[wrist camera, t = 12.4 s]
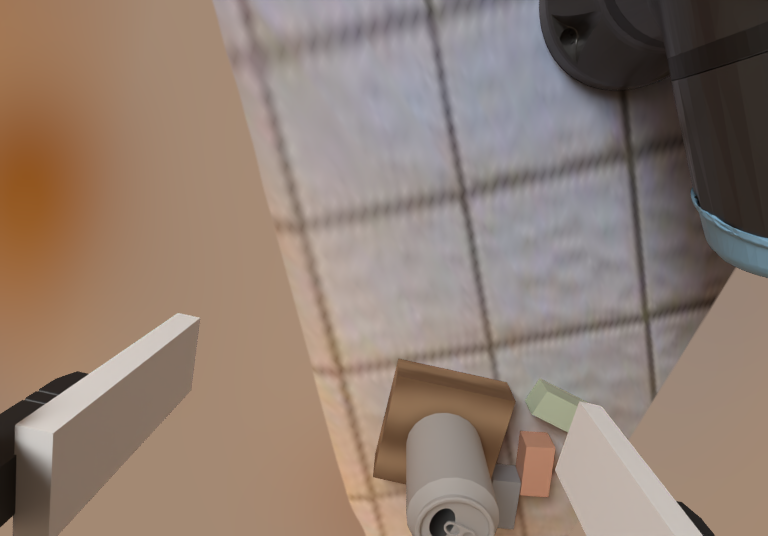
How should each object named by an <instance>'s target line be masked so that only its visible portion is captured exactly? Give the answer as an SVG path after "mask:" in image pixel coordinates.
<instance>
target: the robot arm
mask: <svg viewBox="0 0 768 536" xmlns="http://www.w3.org/2000/svg"><path fill="white" fill-rule="evenodd" d="M539 13H540V23H541V28H542V32H543V36H544V39H545V42H546V44H547V46H548V48H549V50H550V52H551V54H552V55H553V57H554V59H555V60H556V61H557V63H558V64H559V65H560V66H561V67H562V68H563V69H564V70H565V71H566V72H567V73H568V74H569V75H571V76H572V77H574V78H575V79H577V80H578V81H580V82H582V83H584V84H586V85H589V86H592V87H595V88H599V89H604V90H629V89H634V88H638V87H642V86H645V85H648V84H652V83H655V82H657V81H660V80H662V79H664V78H667V77H669V76H670V75H671V80H672V81H671V83H672V88H673V93H674V98H675V103H676V108H677V113H678V118H679V123H680V128H681V132H682V137H683V142H684V147H685V152H686V157H687V162H688V167H689V172H690V177H691V181H692V186H693V187H692V189H691V199H692V202H693V204H694V206H695V207H696V209H697V210H698V212H699V215H700V219H701V223H702V227H703V230H704V234H705V238H706V240H707V242H708V244H709V246H710V247H711V249H712V250H714V251H715V252H716V253H717V254H718V255H719V256H720V257H721V258H722V259H723V260H724V261H726V262H727V263H729V264H731V265H733V266H735V267H737V268H739V269H741V270H744V271H746V272H749V273H752V274H755V275H759V276H762V277H766V278H768V0H540V1H539ZM199 323H200V318H198V317H194V316H189V315H185V314H180V313H177V314H176V315H174V316H173V317H172V318H170V319H168V320H167V321H166V322H164V323H163V324H161V325H160V326H158V327H157V328H155V329H154V330H152V331H151V332H150V333H148V334H147V335H145V336H144V337H142V338H141V339H139V340H138V341H137V342H135V343H134V344H132V345H131V346H129V347H128V348H126V349H125V350H123V351H122V352H121V353H119V354H117V355H116V356H115V357H113V358H112V359H110V360H109V361H107V362H106V363H104V364H103V365H102V366H100V367H99V368H97V369H96V370H94V371H93V372H91V373H90V374H86V373H82V372H74V373H71V374H68V375H65V376H62V377H60V378H57V379H55V380H53V381H51V382H50V383H48V384H47V385H45V386H44V387H42V388H40V389H39V391H38V392H34V393H33V394H31V395H29V396H28V397H26V399H25V400H22V401H20V402H19V403H17V404H15V405H14V406H12V407H11V408H9V409H8V410H6V411H4V412H3V413H1V414H0V527H1V526H2V525H3V524H4V523H5V522H7V521H8V519H10V518H11V517H12V516H13V536H58V535H59V533H60V532H61V531H62V530H63V529H64V528H65V527H66V526H67V525H68V524H69V523H70V521H71V520H72V519H73V518H74V517H75V516H76V515H77V514H78V513H79V512H80V511H81V509H82V508H83V507H84V506H85V505H86V504H87V503H88V502H89V501H90V500H91V499H92V498H93V497H94V495H95V494H96V493H97V492H98V491H99V490H100V489H101V488H102V487H103V486H104V484H105V483H106V482H107V481H108V480H109V479H110V478H111V477H112V476H113V475H114V474H115V473H116V471H117V470H118V469H119V468H120V467H121V466H122V465H123V464H124V463H125V462H126V461H127V459H128V458H129V457H130V456H131V455H132V454H133V453H134V452H135V451H136V450H137V449H138V447H139V446H140V445H141V444H142V443H143V442H144V441H145V439H147V438H148V437H149V436H150V434H151V433H152V432H153V431H154V430H155V429H156V428H157V427H158V426H159V424H160V423H161V422H162V421H163V420H164V419H165V418H166V417H167V416H168V415H169V414H170V413H171V412H172V410H173V409H174V408H175V407H176V406H177V405H178V404H179V403H180V402H181V401H182V399H183V398H184V397H185V396H186V395H187V394H188V393H189V392H190V391H191V387H192V379H193V371H194V363H195V355H196V347H197V339H198V331H199ZM555 471H556V473H557V475H558V477H559V479H560V481H561V484H562V486H563V488H564V490H565V492H566V494H567V496H568V498H569V500H570V502H571V505H572V507H573V509H574V511H575V513H576V515H577V517H578V519H579V521H580V523H581V526H582V528H583V529H584V532H585V534H586V536H714V534H713V532H712V531H711V530H710V529H709V528H708V526H707V525H706V524H705V523H704V521H703V520H702V519H701V518H700V517H699V516H698V515H696V514H695V513H694V512H693V511H691V510H690V509H689V508H688V507H687V506H686V505H684V504H683V503H682V502H678V501H675V499H674V498H673V497H672V496H671V494H670V493H669V492H668V490H667V489H666V488H665V487H664V485H663V484H662V483H661V482H660V480H659V479H658V478H657V477H656V475H655V474H654V473H653V471H652V470H651V469H650V468H649V466H648V465H647V464H646V462H645V461H644V460H643V459H642V457H641V456H640V455H639V454H638V452H637V451H636V450H635V448H634V447H633V446H632V445H631V443H630V442H629V441H628V439H627V438H626V437H625V436H624V434H623V433H622V432H621V430H620V429H619V428H618V427H617V425H616V424H615V423H614V422H613V420H612V419H611V418H610V416H609V415H608V414H607V413H606V411H605V410H604V409H603V407H602V406H599V405H594V404H590V403H585V402H581V401H579V404H578V407H577V409H576V412H575V415H574V418H573V421H572V423H571V426H570V429H569V432H568V435H567V437H566V440H565V443H564V446H563V449H562V451H561V454H560V457H559V460H558V463H557V465H556V468H555Z"/></svg>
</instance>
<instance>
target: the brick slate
mask: <svg viewBox="0 0 768 536" xmlns="http://www.w3.org/2000/svg"><path fill="white" fill-rule="evenodd" d="M491 482H492V486H493V489H494V493H495V497H496V501H497V504H498V508H499V524H498V527H497V528H504V529H514V523H515V517H516V511H517V505H518V499H519V493H520V487H521V481H520V478H519V475H518V472H517V469H516V466H514V465H503V464H496V465H495V468H494V471H493V474H492V477H491Z"/></svg>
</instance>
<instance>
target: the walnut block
mask: <svg viewBox="0 0 768 536" xmlns="http://www.w3.org/2000/svg"><path fill="white" fill-rule="evenodd" d="M514 405H515V399H514V397H513V395H512V393H511V390H510V388H509V386H508V384H507V382H502V381H498V380H493V379H489V378H484V377H480V376H475V375H471V374H466V373H461V372H457V371H452V370H448V369H443V368H439V367H434V366H430V365H425V364H421V363H416V362H411V361H407V360H402V359H398V363H397V367H396V371H395V375H394V379H393V383H392V388H391V392H390V396H389V400H388V404H387V408H386V412H385V416H384V420H383V425H382V429H381V433H380V437H379V441H378V445H377V449H376V453H375V463H374V473H373V477H375V478H380V479H384V480H389V481H393V482H398V483H403V484H406V442H407V438H408V434H409V432H410V431H411V429H412V428H413V426H414V425H415V424H416V423H417V422H419V421H420V420H421V419H423V418H424V417H427V416H429V415H432V414H436V413H450V414H455V415H459V416H460V417H462V418H464V419H466V420H468V421H469V422H470V423H471V424H472V425H473V426H474V427H475V429H476V430H477V433H478V435H479V437H480V440H481V444H482V448H483V451H484V455H485V459H486V463H487V467H488V470H489V474H490V478H491V477H492V474H493V471H494V468H495V465H496V462H497V458H498V455H499V452H500V449H501V446H502V443H503V440H504V436H505V433H506V430H507V427H508V424H509V421H510V418H511V415H512V411H513V408H514Z"/></svg>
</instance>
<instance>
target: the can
mask: <svg viewBox="0 0 768 536" xmlns="http://www.w3.org/2000/svg"><path fill="white" fill-rule="evenodd" d="M406 515H407V524H408V527H409V529H410V531H411V533H412V535H413V536H495V532H496V530H497V527H498V524H499V508H498V504H497V501H496V497H495V493H494V489H493V486H492V482H491V478H490V474H489V470H488V467H487V463H486V459H485V455H484V451H483V448H482V444H481V440H480V437H479V435H478V433H477V430H476V429H475V427H474V426H473V425H472V424H471V423H470V422H469V421H468V420H466V419H464V418H462V417H460V416H459V415H455V414H450V413H436V414H432V415H429V416H427V417H424V418H423V419H421V420H420V421H419V422H417V423H416V424H415V425H414V426H413V428H412V429H411V431H410V432H409V434H408V438H407V442H406Z"/></svg>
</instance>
